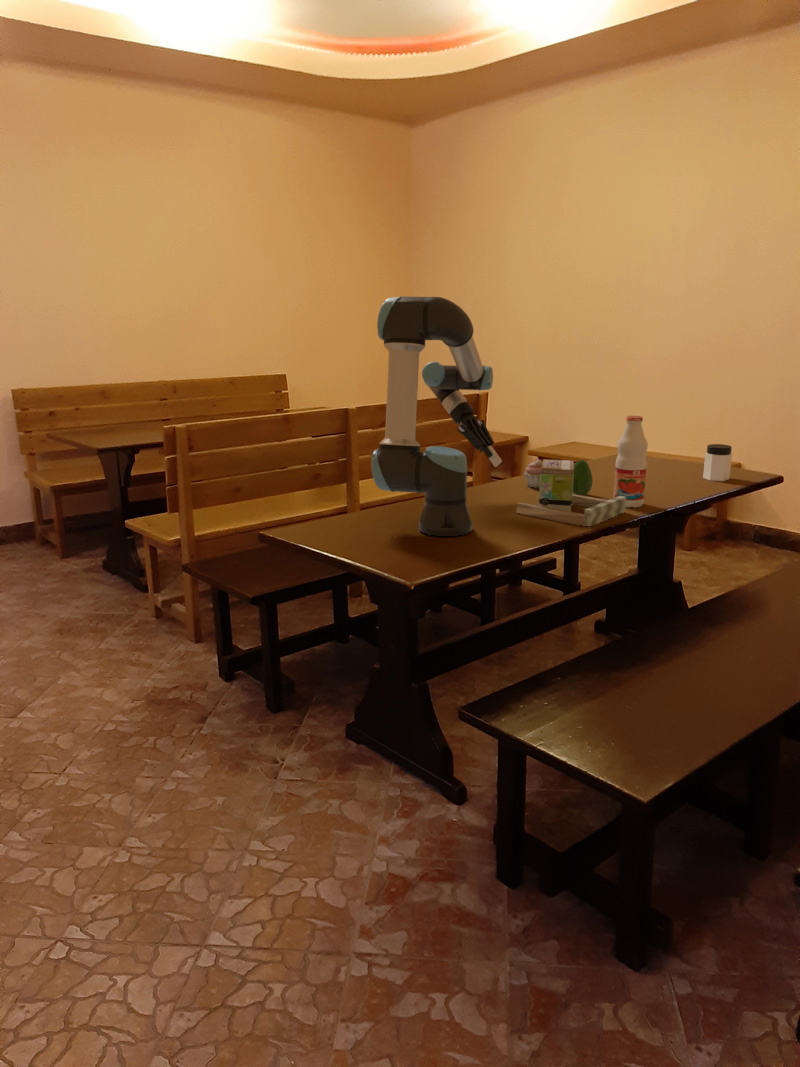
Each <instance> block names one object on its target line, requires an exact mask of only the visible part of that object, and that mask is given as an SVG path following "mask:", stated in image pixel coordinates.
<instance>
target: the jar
mask: <svg viewBox="0 0 800 1067" xmlns="http://www.w3.org/2000/svg"><path fill="white" fill-rule="evenodd" d="M706 447H707V448H706V452H705V453H704V464H703V475H702V478H703V479H705V480H708V481H711V482H725V481H729V480H730V476H731V466H732V461H733V460H732V457H733V453H732V445H728V444H721V443H713V444H711V443H710V444H707V446H706Z"/></svg>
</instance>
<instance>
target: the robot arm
mask: <svg viewBox="0 0 800 1067" xmlns="http://www.w3.org/2000/svg"><path fill="white" fill-rule="evenodd" d="M378 311H379V312H378V317H377V324H376V325H377V328H376V329H377V335H378V337H379V339H380V340H382V341H383V347H384V348H385V349H386V350H387V352H388V362H387V363H388V364H387V365H388V366H387V386H386V387H387V388H386V389H387V390H386V409H385V410H386V411H385V430H384V433H385V434H384V438H383V439H382V440H381V441H380V442H379V443H378V446H379V448H376V449H374V451H372V455H371V461H370V462H371V463H370V464H371V474H372V478H373V482H374V484H375V485H376V488H378V489H379V490H381V491H387V492H391V493H395V492H399V493H416V494H417V493H418V494H424V505H423V509H422V511H421V516H420V519H419V520H418V531H419V530H420V531H421V532H423V533H426V534H430V535H436V536H435V537H437V536H455V537H459V536H458V535H462V536H465V535H464V534H466V535H468V534H470V533H472V531H473V523H472V520H471V516H470V512H469V509H468V506H467V485H468V484H467V483H468V482H467V481H468V479H467V477H468V474H467V473H468V464H467V461H468V460H467V456H466V454H465V453H464V452H462V451H461V450H459V449H456V448H451V447H449V446H448V447H447V446H436V445H435V446H433V445H432V446H428V447H426V448H425V450H424V451H421V445H420V443H419V441H417V440H416V430H417V428H416V427H417V411H418V410H417V407H418V388H419V367H420V353H421V352H422V351H423V350H424V349H425V348H426V341H442V343H443V344H445V345H446V346H447V347H448V349H449V351H450V354H451V356H452V359H453V361H454V363H455V365H449V364H448V365H443V364H442V363H440V362H438V361H430V362H428V363H426V364H425V365H424V367H423V368H422V370H421V377H422V380H423V382H424V384H425V385H426V386H427V387H428V388H429V389H430V391H431V392H432V393H433V394H434V395H435V397H436V398H437V400H438V401H439V403H440V404H441V405H442V407H443V408H444V410H445V411H446V412H447V413H448V415H449V417H450V418H451V420H452V421H453V423H454V424H458V425H459V426H458V427H457V429H456V430H457V432H458V433H460V434H461V435H463V437H464V438H465V439H466V440H467V441H468V442H469V443H470V444H471V446H473V447H474V448H475V450H477V451H478V452H480V453H482V452H483V453H484V454H485V456H486V457H487V458H488V459H489V461H490V462H491V463H492V465H493V467H495V468H496V467H498V466H499V465H500V464H501V463H502V462H503V459H501V457H500V456H499V454H498V453H497V451H496V449H495V448H494V447H493V445H494V444H495V441H494V440H493V437H492V435H491V433H490V432H489V430H488V428H487V425H486V423H485V422H486V421H484V420H483V419H481V420H479V419H478V418H477V417H476V416H475V414H474V408H473V407H472V405H471V404H470V403H469V401H467V398H466V397H465V395H464V394H463V393H462V392H461V391H463V390H467V391H489V390H490V389H492V386H493V382H494V372H493V367H492V366H487V365H483V363H482V360H481V357H480V354H479V351H478V348H477V345H476V343H475V339H474V337H473V335H474V326H473V323H472V321H471V318H470V317H469V315H468V314H467V313H466V311H464V309H463V308H462V307H461V306H459V305H458V304H456V303H455V302H453V301H451V300H450V299H448V298H445V297H441V296H402V295H400V296H395V297H394V296H393V297H388V298H386V299H385V300H383V302H382V304H381V306H380V308H379V310H378ZM420 531H419V532H420ZM421 532H420V533H421ZM469 532H470V533H469ZM423 533H422V534H423ZM467 533H468V534H467ZM426 534H425V535H426ZM430 535H429V536H430Z"/></svg>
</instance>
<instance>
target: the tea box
mask: <svg viewBox="0 0 800 1067" xmlns="http://www.w3.org/2000/svg"><path fill="white" fill-rule="evenodd" d="M542 462H543V463H542V468H541V476H540V488H539V493H538V496H539V497H538V506H542V507H548V508H553V509H559V510H564V511H569V512H572V505H571V503H572V494H573V478H574V464H575V461H574V460H569V459H568V460H567V459H565V460H563V459H542Z"/></svg>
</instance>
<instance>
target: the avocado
mask: <svg viewBox="0 0 800 1067" xmlns="http://www.w3.org/2000/svg"><path fill="white" fill-rule="evenodd" d="M592 486H593V475H592V471H591V468H590V466H589V464H588V462H587V461H586V460H585V459H579V460H577V461H576V462H574V478H573V492H572V494H575V495H581V496H586V495H587V494H588V493H590V491H591V489H592Z"/></svg>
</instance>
